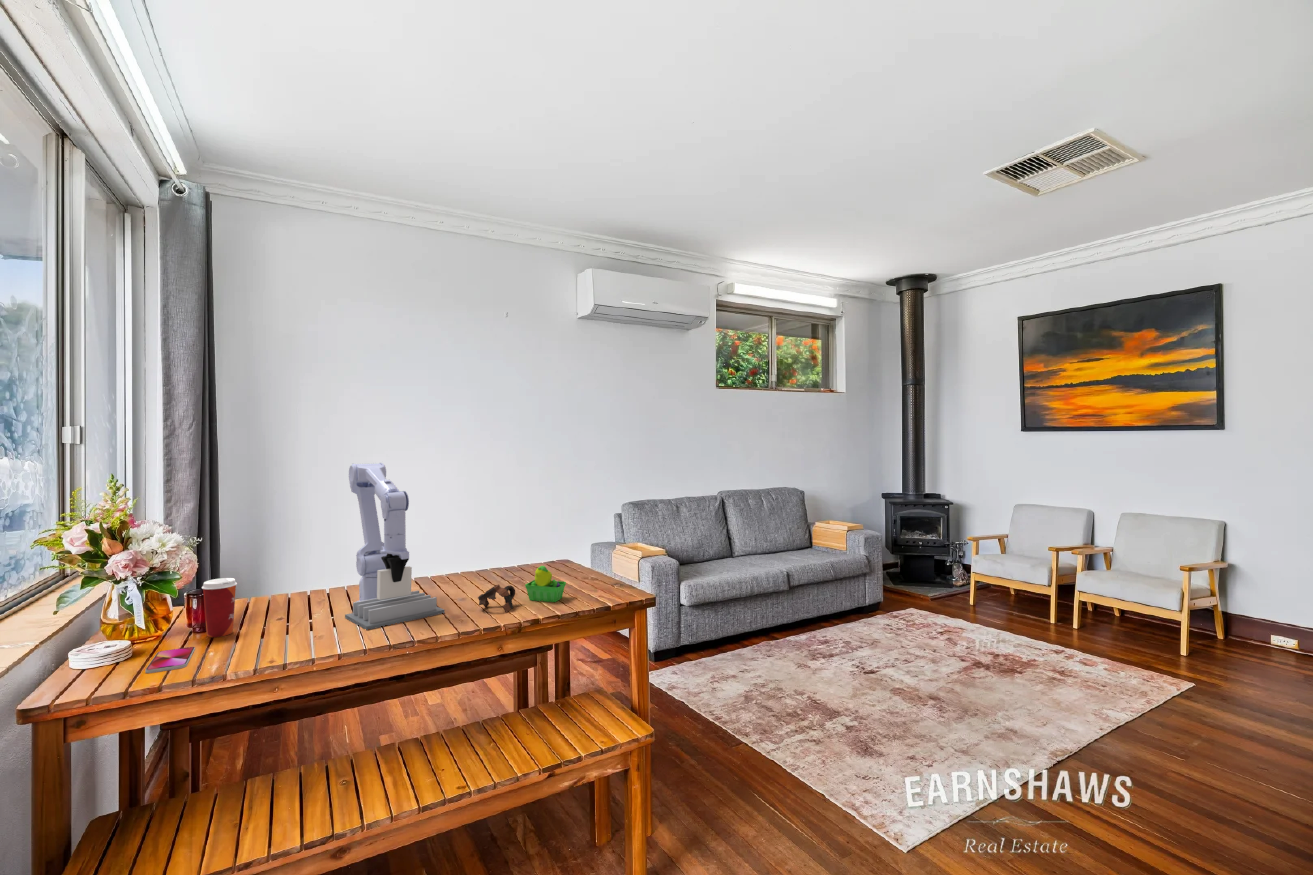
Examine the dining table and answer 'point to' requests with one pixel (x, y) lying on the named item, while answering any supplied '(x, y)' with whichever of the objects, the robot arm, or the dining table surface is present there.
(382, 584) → the cream plate
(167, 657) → the smartphone
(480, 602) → the dark brown curved piece
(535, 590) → the fruit basket
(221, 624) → the paper cup
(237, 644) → the dining table surface
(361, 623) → the dish rack
